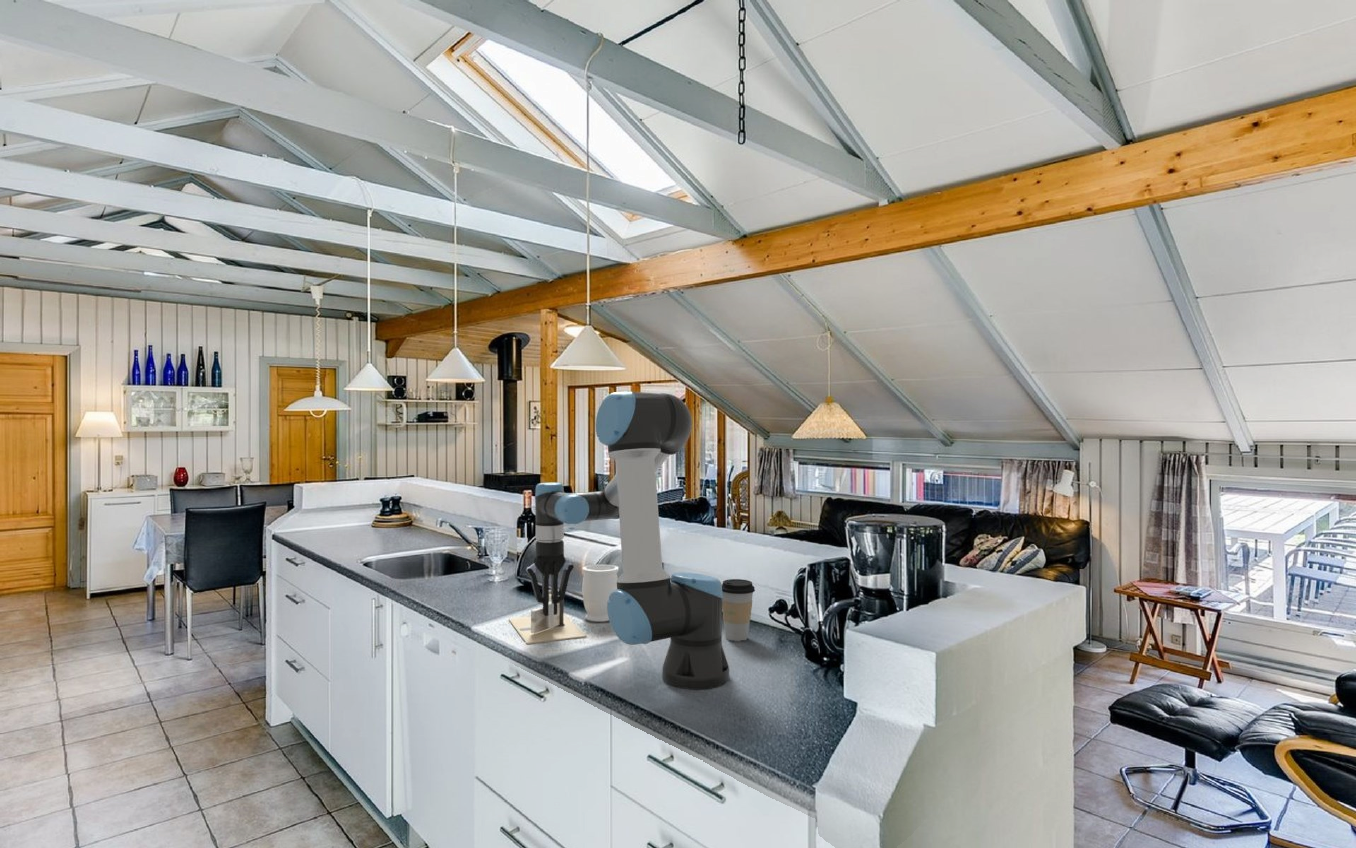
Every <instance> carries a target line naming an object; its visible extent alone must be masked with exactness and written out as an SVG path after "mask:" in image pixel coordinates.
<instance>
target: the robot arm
mask: <svg viewBox="0 0 1356 848" xmlns="http://www.w3.org/2000/svg"><path fill="white" fill-rule="evenodd" d="M689 409H690V408H689V407H688V406H687V404H686V403H685V402H684V401H683V400H682V399H680V398H679V397H678V396H676V395H673V394H670V393H664V392H662V393H661V392H659V393H656V392H645V391H644V392H640V391H631V390H630V391H629V390H627V391H616V392H611V393H610V394H608V395H607V396H605V398H604V399H603V400H602V401H601V404H600V406H599V407H598V411H597V412H596V413H597V414H596V418H595V432H596V437H597V438H598V441H599V442H600V443H601V444H602V445H605V446H607V454H608V456H609V457H610V458H611V459H613V460H614V462H615V471H616V473H615V475H614V476H613V477H612V479H611V480H610V481H609V482H608V484H607V485H606V486H605V487H604V489H602V490H600V491H589V492H584V491H583V492H565V491H564V490H565V489H564V485H563V484H562V483H561V482H540V483H537V484H536V486H535V496H534V503H535V505H534V506H535V507H534V508H535V540H536V541H535V558H534V560H533V563H532V564H531V565H530V566H526V567H525V571H526V572H527V574H528V575H529V578H530V582H531V586H532V590H533V594H534V597H535V599H536V601H537V602H538V603H539V604H540V603H541V604H542V607H543V614H544V616H547V627H548V628H549V629H551V628H554V615H557V603H558V602H559V601H560V600H563V599H564V600H565V597H566V593H567V592H566V591H567V589H568V588H567V587H568V584H569V580H570V574H571V573H572V571H573V570H574V567H575V566H574V564H572V563H571V562H567V560H566V558H565V549H564V548H565V545H564V544H565V541H564V540H563V539H564V538H565V534H564V533H565V532H564V530H565V528H564V524H565V525H566V524H567V525H578V524H580V523H583V522H591V521H601V520H619V531H620V546H621V547H620V548H621V562H622V572H621V574H620V576H619V577H618V579H617V590H615V591H614V592H612V593H611V594H610V596H609V600H608V602H607V613H608V618H609V621H608V622H609V625H610V627H611V629H612V630H613V632H614V633H615V635H616V637H617V638H618V639H619V640H620V641H621V642H622V643H624V644H627V645H629V646H633V645H641V644H643V645H647V644H649V643H653V642H657V641H661V640H665V639H670V643H669V646H668V649H667V652H666V655H665V658H664V661H663V664H662V668H661V669H662V670H661V671H662V676H661V677H662V680H663V681H664V682H665V683H668V684H669V685H671V686H673V687H678V688H681V689H690V690H704V689H705V690H707V689H713V688H718V687H720V686H722V685H725V684H727V682H728V681H729V680H730V666H729V664H728V661H727V657H726V652H725V651H724V647H723V641H722V640H723V637H722V635H723V610H722V600H723V596H722V584H723V583H722V582H721V581H720V579H718V578H717V577H714V576H711V575H706V574H702V573H693V572H680V571H679V572H674V573H672V574H671V575H670V574H669V573H667V571H666V570H664V568H663V557H662V556H663V555H662V544H661V532H660V518H659V516H660V515H659V505H658V504H659V503H658V489H657V475H656V473H657V471H658V470H659V469H660V468H661V466H662V465H663V464H664V463H665V462H666V460H668V458H669V457H670V456H674V455H676V454H678V453H679V452H680V451H681V449H683V447H684V446H685V445H686V443H687V442H688V440H689V439H690V436H691V433H692V429H693V418H692V414H691V411H690V410H689ZM562 568H563V572H562V576H561V580H560V584H559V581H558V579H559V573H560V571H561V570H562ZM536 569H537V570H538V572H540V574H541V583H542V584H541V590H540V586H539V582H538V579H537V578H538V577H537V574H536V572H537V570H536ZM550 577H551V578H550ZM549 578H550V579H549ZM549 581H550V582H551V584H550V582H549ZM549 584H550V586H549ZM558 585H559V586H558ZM549 587H550V589H549ZM558 589H559V590H558ZM549 590H551V600H552V602H549ZM541 592H542V593H541Z"/></svg>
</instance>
